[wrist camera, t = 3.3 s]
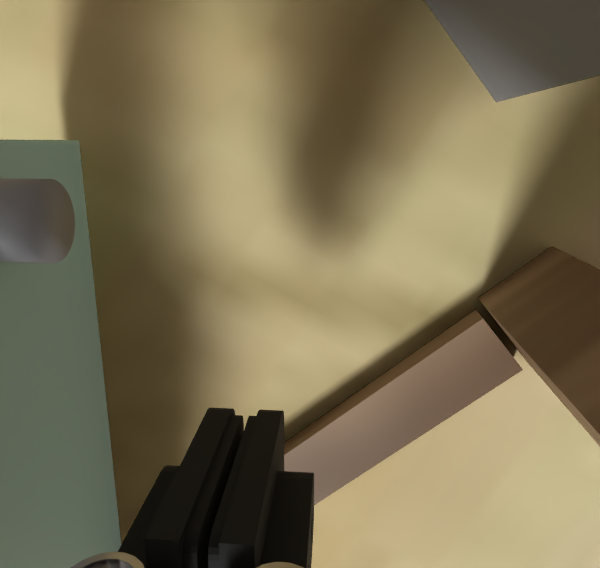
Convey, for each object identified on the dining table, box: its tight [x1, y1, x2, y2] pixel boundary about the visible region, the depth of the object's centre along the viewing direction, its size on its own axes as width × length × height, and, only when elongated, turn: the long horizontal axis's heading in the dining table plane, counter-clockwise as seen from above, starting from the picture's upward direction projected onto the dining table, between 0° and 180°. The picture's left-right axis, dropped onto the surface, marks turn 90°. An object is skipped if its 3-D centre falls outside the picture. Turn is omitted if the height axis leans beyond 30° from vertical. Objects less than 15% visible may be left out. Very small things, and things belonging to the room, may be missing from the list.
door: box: [0, 140, 121, 568], centre depth 12 cm, size 3×14×8 cm, turn 0°
